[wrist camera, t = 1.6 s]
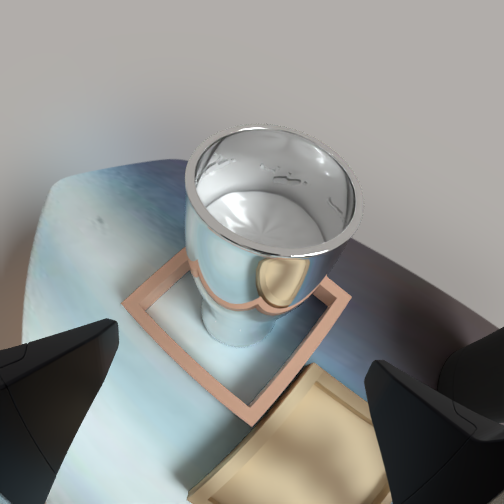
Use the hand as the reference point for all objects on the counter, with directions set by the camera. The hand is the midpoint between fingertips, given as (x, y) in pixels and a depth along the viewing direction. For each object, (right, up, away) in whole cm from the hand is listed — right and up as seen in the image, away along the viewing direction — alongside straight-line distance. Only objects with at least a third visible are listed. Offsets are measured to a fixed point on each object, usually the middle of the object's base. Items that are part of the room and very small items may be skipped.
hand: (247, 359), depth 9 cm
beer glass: (-1, -1, +14) cm, 14 cm away
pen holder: (+22, -11, +12) cm, 28 cm away
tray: (+5, -14, +7) cm, 17 cm away
